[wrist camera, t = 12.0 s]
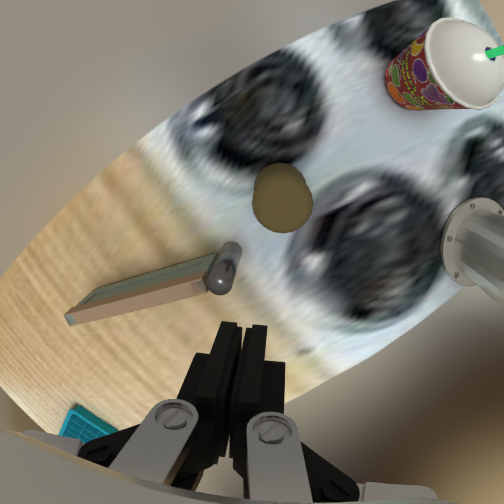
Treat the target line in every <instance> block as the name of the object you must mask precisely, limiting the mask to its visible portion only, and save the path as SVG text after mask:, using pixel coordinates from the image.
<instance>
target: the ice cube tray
mask: <svg viewBox="0 0 504 504" xmlns="http://www.w3.org/2000/svg"><path fill="white" fill-rule="evenodd" d="M115 432H118V431H117V430H116V429H115V428H114V427H112V426H110V425H109V424H107V423H106V422H104V421H103V420H101V419H99V418H98V417H96V416H95V415H93V414H92V413H90V412H89V411H87V410H86V409H85V408H83V407H82V406H77V407H76V408H75V409H74V410H73V409H70V410H69V412H68V414H67V416H66V419H65V421H64V423H63V426H62V428H61V430H60V433H59V436H64V437H70V438H75V439H80V440H81V442H82V443H86V442H88V441H90V440H93V439H96V438H99V437H102V436H105V435H109V434H112V433H115Z"/></svg>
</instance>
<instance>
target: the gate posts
mask: <svg viewBox="0 0 504 504" xmlns="http://www.w3.org/2000/svg"><path fill="white" fill-rule="evenodd" d="M241 253H242V250H241V247H240V245H239V244H237V243H236V242H227V243H226V244H224V246H223V247H222V249H221V252H220V254H219V256H218V258H217V260H216V262H215V264H214V266H213V268H212V270H211V272H210V274H209V276H208V278H207V287H208V289H209V290H210V291H211V292H212V293H214V294H216V295H225V294H227V293H228V292H229V291H230V290H231V288H232V284H233V281H234V277H235V274H236V270H237V267H238V264H239V260H240V257H241Z"/></svg>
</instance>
